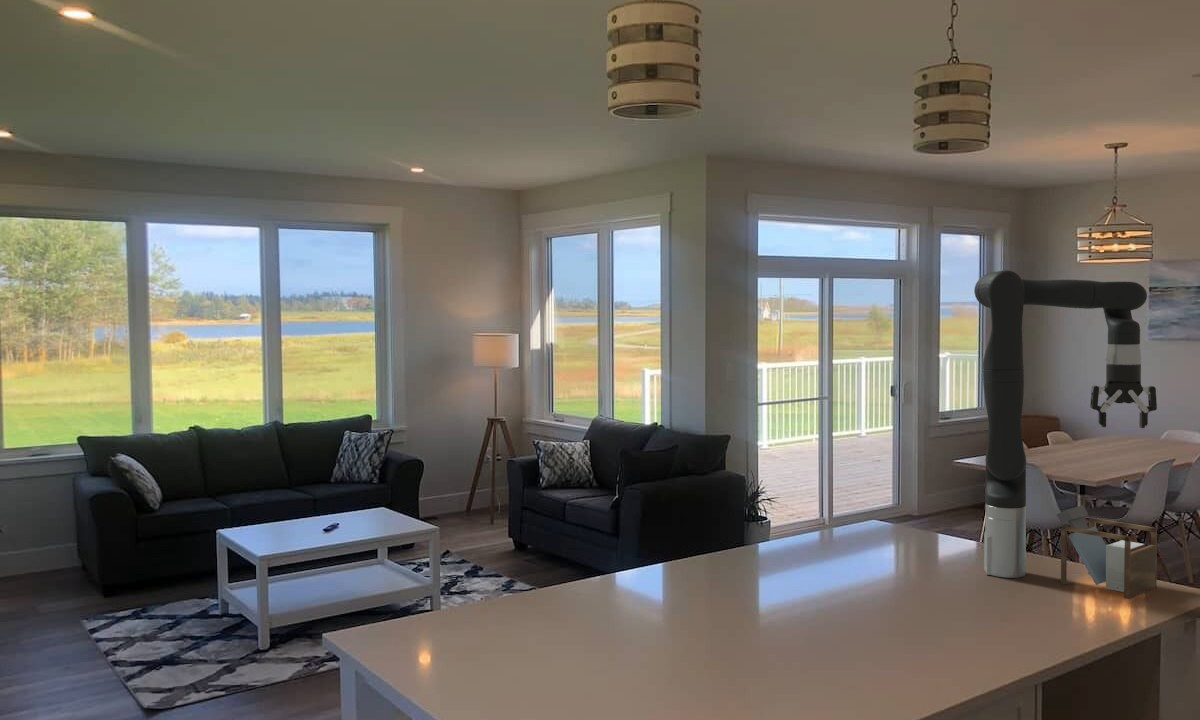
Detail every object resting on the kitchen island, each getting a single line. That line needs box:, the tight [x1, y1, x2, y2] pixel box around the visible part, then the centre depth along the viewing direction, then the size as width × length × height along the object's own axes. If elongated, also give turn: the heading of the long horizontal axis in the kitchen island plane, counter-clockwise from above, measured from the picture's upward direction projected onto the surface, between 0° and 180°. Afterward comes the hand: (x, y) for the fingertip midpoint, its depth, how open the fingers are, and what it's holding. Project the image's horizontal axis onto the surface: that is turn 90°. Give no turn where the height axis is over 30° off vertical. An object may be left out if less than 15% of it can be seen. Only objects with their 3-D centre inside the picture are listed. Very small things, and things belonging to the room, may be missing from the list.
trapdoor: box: [1056, 504, 1107, 586], centre depth 221 cm, size 18×12×3 cm
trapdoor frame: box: [1060, 517, 1158, 599], centre depth 218 cm, size 15×15×14 cm
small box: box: [1105, 540, 1146, 593], centre depth 215 cm, size 8×6×10 cm
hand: (1122, 427), depth 229 cm, fingers open, 8 cm apart
